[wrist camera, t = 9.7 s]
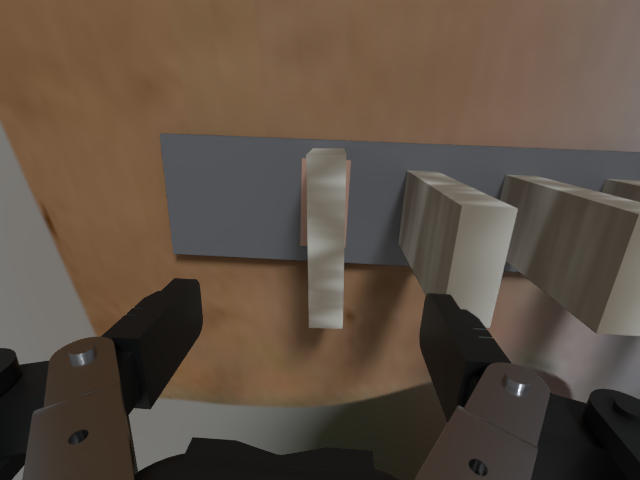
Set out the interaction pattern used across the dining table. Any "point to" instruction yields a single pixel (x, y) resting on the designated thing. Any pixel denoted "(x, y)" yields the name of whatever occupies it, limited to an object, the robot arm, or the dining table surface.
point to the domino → (326, 235)
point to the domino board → (361, 189)
